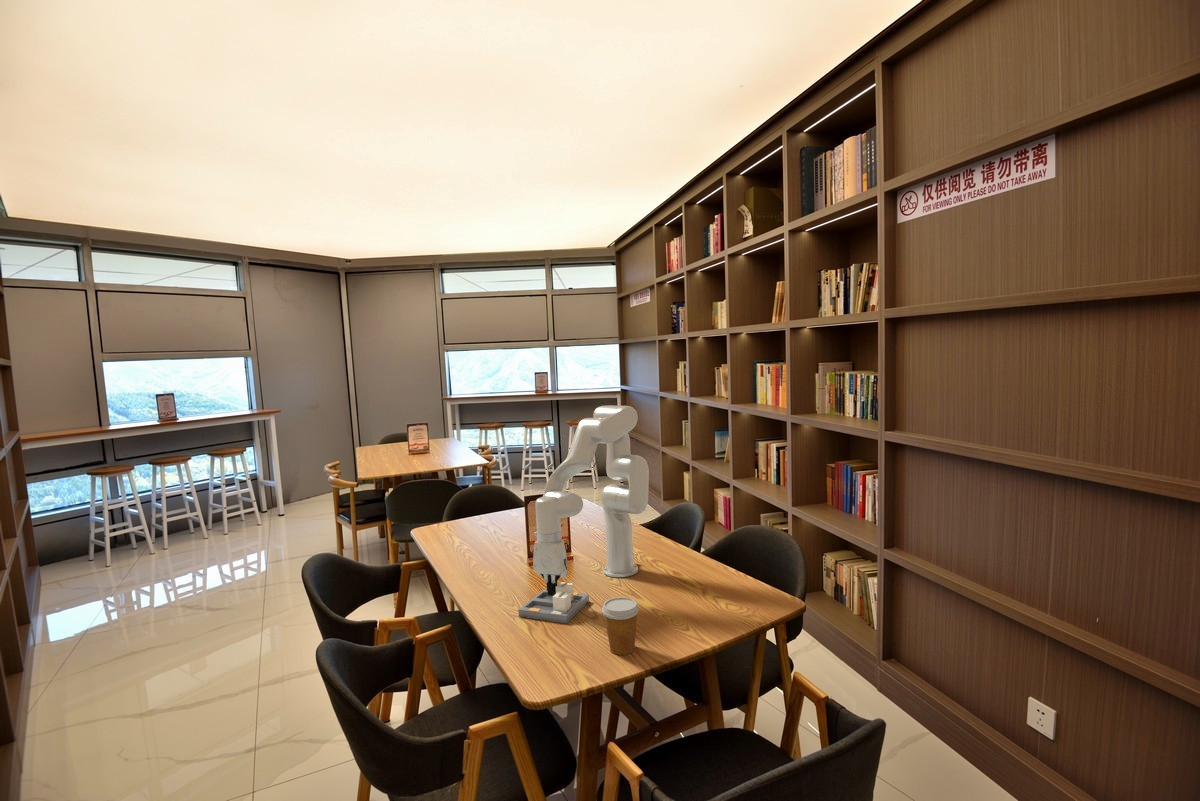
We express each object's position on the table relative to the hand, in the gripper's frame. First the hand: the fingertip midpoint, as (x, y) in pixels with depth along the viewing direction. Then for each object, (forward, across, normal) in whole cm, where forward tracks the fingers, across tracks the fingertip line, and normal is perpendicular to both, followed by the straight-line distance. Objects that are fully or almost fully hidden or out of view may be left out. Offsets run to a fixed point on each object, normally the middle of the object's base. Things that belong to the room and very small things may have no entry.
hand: (552, 593), depth 173 cm
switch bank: (+3, +2, -4) cm, 5 cm away
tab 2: (+2, +4, 0) cm, 5 cm away
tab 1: (+2, +7, -7) cm, 10 cm away
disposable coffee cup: (+3, +31, -20) cm, 37 cm away
